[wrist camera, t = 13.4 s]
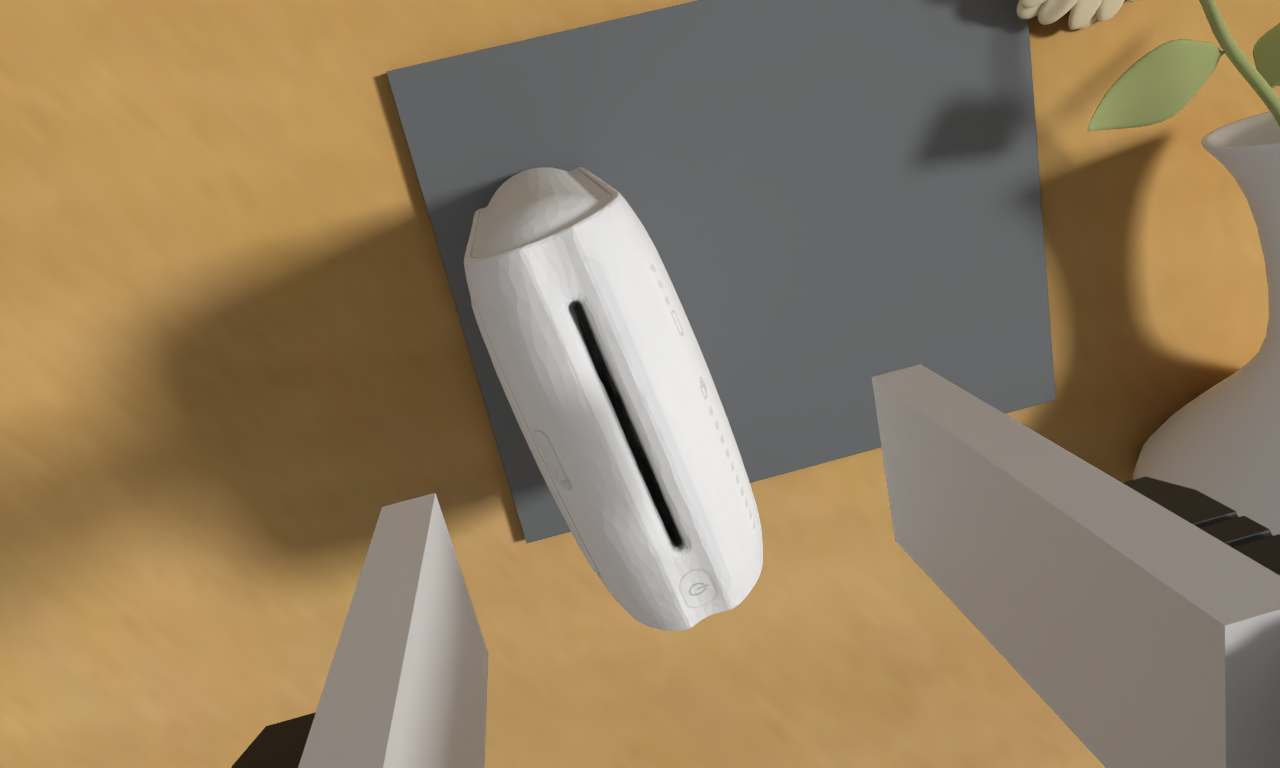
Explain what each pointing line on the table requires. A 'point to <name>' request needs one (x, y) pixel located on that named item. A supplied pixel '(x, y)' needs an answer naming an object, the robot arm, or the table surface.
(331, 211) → the table surface
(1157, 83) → the flower in vase
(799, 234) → the mat
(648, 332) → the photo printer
